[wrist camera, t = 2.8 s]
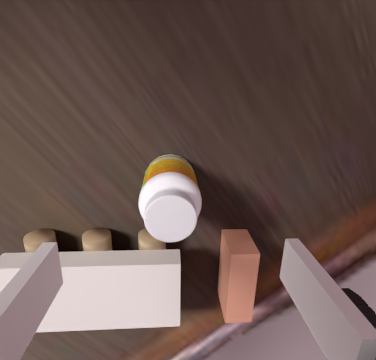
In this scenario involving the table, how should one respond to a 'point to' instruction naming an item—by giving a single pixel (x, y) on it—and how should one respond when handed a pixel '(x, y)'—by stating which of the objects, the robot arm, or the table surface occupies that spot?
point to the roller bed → (91, 240)
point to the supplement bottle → (170, 199)
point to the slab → (109, 289)
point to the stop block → (237, 275)
